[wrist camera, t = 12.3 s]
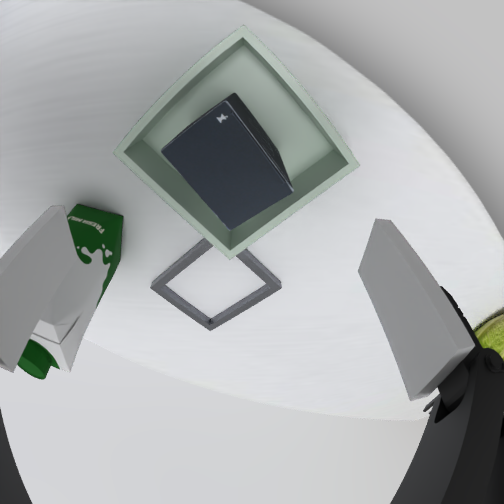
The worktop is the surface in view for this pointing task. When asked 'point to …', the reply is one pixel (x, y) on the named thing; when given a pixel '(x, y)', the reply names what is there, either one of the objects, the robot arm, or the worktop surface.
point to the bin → (268, 116)
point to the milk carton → (75, 292)
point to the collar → (229, 313)
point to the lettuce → (492, 335)
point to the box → (230, 162)
